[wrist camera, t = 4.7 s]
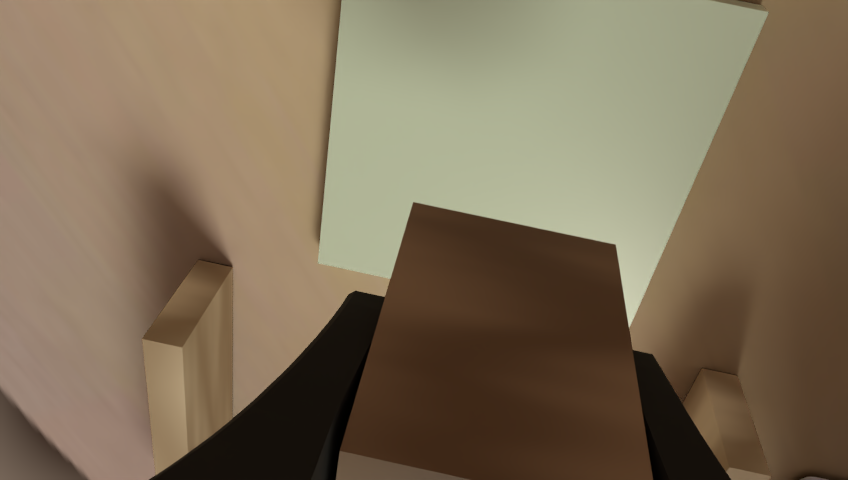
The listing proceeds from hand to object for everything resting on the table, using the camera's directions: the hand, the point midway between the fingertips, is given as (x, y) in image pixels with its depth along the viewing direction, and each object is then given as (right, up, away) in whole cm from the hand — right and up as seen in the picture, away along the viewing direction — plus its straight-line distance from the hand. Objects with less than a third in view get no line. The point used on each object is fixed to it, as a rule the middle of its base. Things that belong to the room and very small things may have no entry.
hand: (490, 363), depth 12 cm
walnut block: (0, +1, +2) cm, 2 cm away
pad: (+1, +5, +7) cm, 9 cm away
